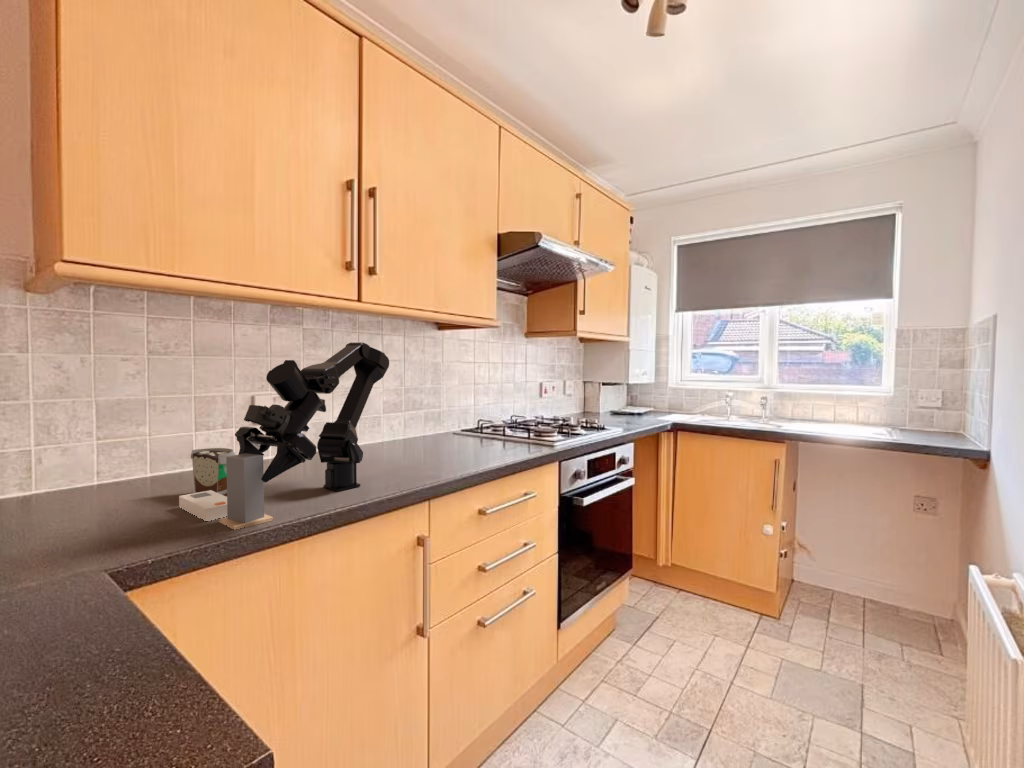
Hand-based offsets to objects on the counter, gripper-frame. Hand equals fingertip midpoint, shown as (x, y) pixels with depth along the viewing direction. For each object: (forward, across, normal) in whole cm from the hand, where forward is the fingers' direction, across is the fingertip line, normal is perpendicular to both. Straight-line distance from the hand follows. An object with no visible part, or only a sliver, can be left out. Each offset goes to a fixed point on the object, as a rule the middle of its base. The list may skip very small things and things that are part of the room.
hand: (248, 478), depth 94 cm
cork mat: (+6, 0, +5) cm, 8 cm away
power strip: (+6, -15, +6) cm, 17 cm away
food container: (0, -24, +12) cm, 27 cm away
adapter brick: (+6, 0, +5) cm, 8 cm away
